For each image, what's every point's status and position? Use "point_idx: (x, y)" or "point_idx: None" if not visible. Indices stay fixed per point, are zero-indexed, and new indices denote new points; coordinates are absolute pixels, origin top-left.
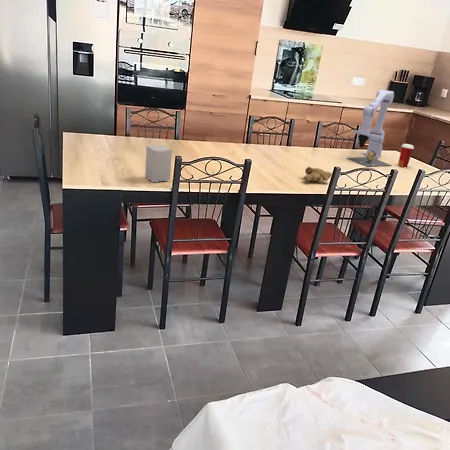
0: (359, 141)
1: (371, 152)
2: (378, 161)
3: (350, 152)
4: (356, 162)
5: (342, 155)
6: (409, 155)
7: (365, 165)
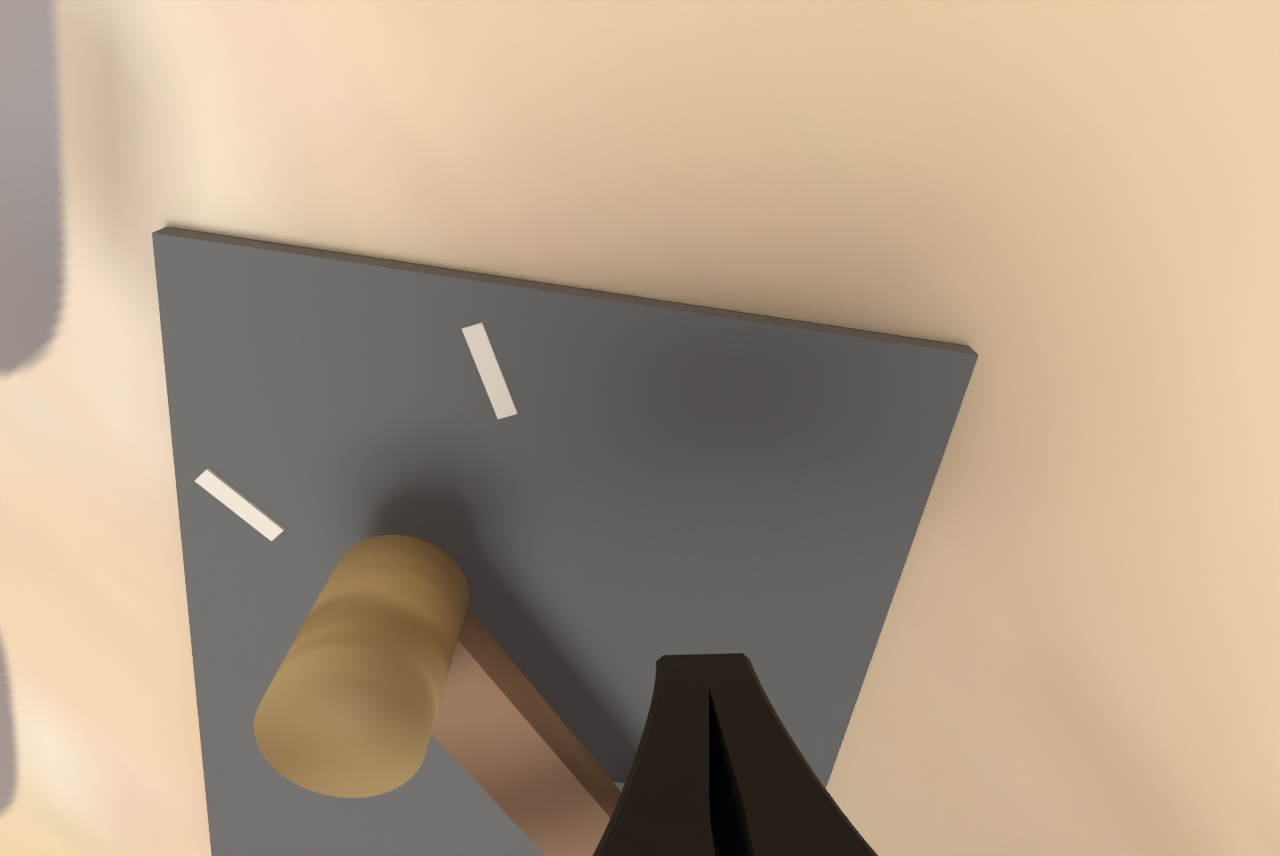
0: (824, 819)
1: (345, 746)
2: (484, 834)
3: (1212, 844)
4: (589, 290)
5: (1193, 476)
6: None
7: (234, 244)
